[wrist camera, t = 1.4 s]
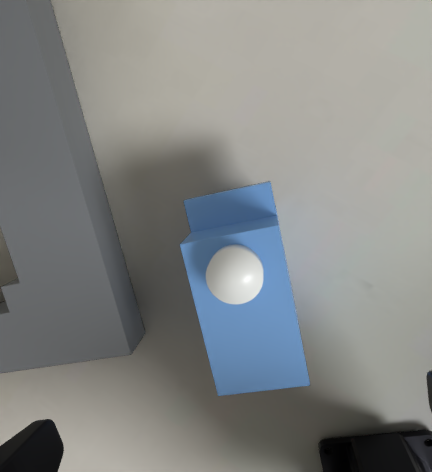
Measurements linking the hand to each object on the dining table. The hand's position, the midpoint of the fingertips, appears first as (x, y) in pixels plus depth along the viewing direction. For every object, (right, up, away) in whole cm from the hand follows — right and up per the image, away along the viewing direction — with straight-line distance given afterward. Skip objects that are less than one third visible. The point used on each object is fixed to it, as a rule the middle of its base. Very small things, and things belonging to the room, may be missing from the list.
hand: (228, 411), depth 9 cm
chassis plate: (-14, +6, +13) cm, 20 cm away
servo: (+2, +2, +12) cm, 12 cm away
